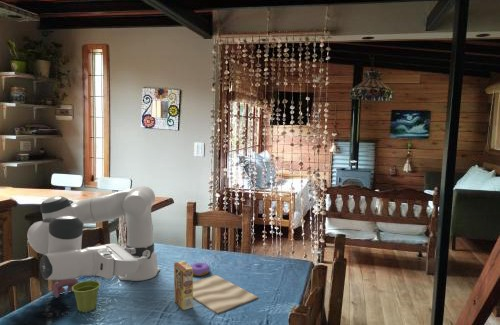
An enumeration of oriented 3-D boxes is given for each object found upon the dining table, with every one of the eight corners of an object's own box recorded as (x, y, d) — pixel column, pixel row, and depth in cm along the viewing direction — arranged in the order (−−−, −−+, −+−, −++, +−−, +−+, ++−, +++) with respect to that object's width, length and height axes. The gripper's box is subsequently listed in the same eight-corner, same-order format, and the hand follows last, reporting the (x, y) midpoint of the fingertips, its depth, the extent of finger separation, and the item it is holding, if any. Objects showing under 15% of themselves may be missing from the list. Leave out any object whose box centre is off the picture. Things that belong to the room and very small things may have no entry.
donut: (190, 267, 180) (192, 258, 180) (209, 272, 180) (211, 262, 180) (186, 276, 170) (188, 265, 170) (206, 280, 170) (208, 270, 170)
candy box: (193, 307, 142) (193, 267, 140) (182, 310, 139) (183, 270, 138) (183, 298, 149) (184, 260, 147) (173, 301, 147) (173, 262, 145)
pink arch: (78, 293, 155) (75, 276, 156) (82, 291, 152) (79, 274, 153) (52, 300, 148) (49, 282, 149) (56, 299, 145) (52, 280, 146)
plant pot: (72, 317, 133) (71, 293, 132) (72, 305, 142) (72, 282, 141) (101, 312, 137) (100, 289, 136) (99, 301, 145) (99, 279, 144)
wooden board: (176, 288, 158) (176, 286, 158) (215, 276, 171) (215, 274, 171) (217, 314, 137) (217, 312, 137) (258, 298, 151) (258, 296, 151)
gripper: (88, 259, 130) (128, 254, 139) (109, 281, 114) (152, 274, 123) (89, 241, 129) (129, 237, 138) (110, 260, 114) (154, 254, 123)
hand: (140, 254), depth 130 cm, fingers open, 8 cm apart
